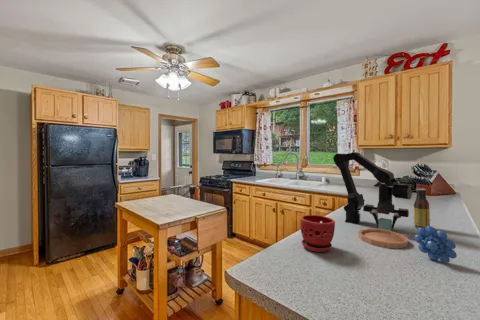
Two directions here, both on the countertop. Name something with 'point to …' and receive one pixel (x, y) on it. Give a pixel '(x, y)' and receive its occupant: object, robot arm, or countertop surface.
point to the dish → (383, 238)
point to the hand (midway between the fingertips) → (385, 227)
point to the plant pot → (317, 232)
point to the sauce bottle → (421, 210)
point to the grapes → (435, 244)
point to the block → (385, 224)
